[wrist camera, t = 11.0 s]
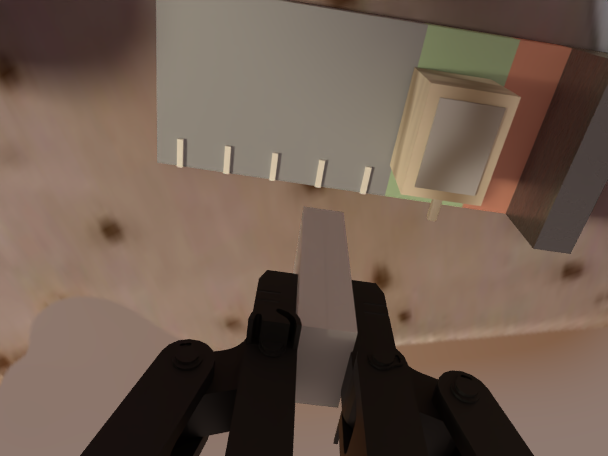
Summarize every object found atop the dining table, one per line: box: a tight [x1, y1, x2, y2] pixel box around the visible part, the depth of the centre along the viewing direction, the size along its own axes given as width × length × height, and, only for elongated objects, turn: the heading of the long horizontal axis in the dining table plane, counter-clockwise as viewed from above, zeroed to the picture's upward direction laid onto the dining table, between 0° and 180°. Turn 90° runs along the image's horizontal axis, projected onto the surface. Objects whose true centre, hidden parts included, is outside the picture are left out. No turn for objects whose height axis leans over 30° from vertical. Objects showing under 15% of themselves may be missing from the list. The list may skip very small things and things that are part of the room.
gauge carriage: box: [390, 67, 521, 221], centre depth 35 cm, size 6×10×6 cm, turn 172°
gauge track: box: [156, 0, 572, 214], centre depth 38 cm, size 31×14×2 cm, turn 82°
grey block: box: [506, 45, 608, 254], centre depth 36 cm, size 5×14×8 cm, turn 172°
